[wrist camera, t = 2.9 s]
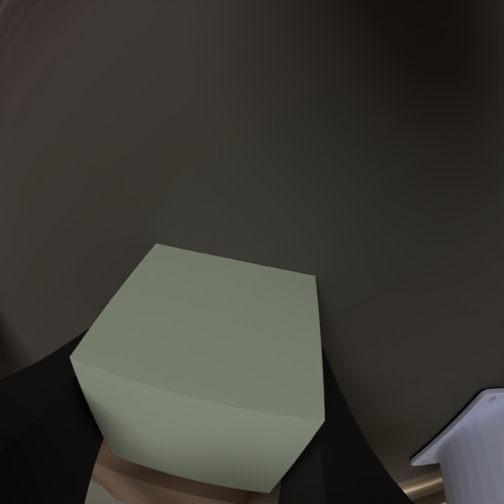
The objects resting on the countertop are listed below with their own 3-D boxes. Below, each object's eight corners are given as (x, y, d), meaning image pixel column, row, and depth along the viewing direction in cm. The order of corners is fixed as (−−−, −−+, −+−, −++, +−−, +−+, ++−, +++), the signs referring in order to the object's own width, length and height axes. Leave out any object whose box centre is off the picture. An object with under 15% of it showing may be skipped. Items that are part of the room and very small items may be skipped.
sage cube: (315, 275, 9) (324, 420, 5) (279, 378, 12) (269, 492, 7) (156, 243, 10) (69, 357, 5) (158, 351, 12) (112, 454, 8)
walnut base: (256, 445, 16) (247, 504, 12) (241, 490, 20) (234, 529, 17) (98, 405, 16) (74, 454, 13) (128, 462, 21) (114, 498, 17)
